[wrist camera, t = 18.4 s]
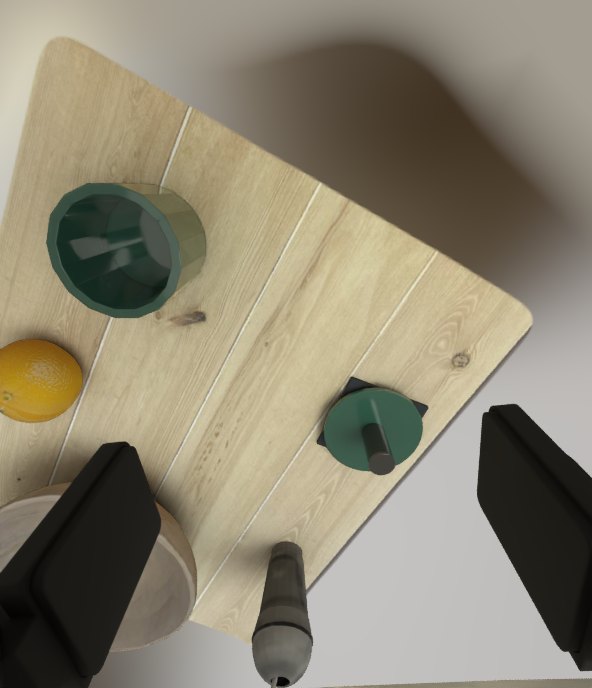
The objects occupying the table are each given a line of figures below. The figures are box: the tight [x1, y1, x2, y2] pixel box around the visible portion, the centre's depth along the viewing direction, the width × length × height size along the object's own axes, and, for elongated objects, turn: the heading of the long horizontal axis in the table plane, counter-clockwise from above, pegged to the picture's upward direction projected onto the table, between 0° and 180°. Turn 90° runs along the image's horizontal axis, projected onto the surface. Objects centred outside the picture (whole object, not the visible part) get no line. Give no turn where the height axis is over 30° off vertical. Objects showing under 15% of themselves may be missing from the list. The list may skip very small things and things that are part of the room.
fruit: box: [0, 339, 83, 423], centre depth 39 cm, size 9×8×8 cm
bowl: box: [0, 482, 197, 652], centre depth 48 cm, size 26×26×10 cm
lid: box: [324, 388, 423, 475], centre depth 42 cm, size 12×12×7 cm
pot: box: [46, 183, 206, 318], centre depth 34 cm, size 11×11×8 cm
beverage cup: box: [252, 542, 313, 688], centre depth 45 cm, size 7×7×20 cm
